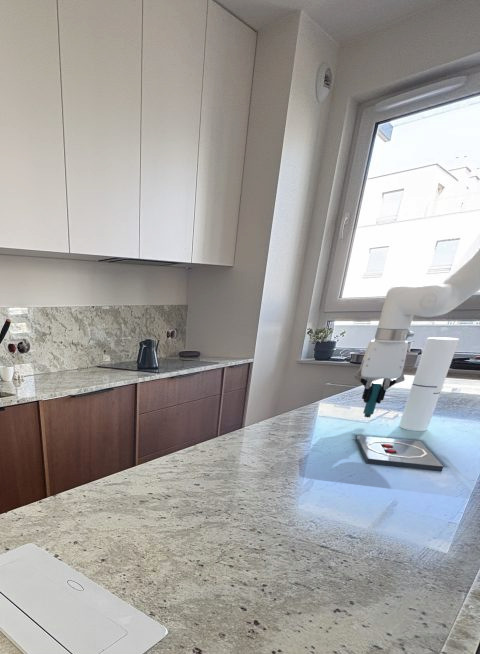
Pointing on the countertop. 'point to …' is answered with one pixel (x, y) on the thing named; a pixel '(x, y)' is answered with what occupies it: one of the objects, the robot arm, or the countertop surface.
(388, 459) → the slate board
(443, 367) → the cylindrical container
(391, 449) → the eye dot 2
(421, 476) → the countertop surface
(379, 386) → the marker
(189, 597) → the countertop surface
